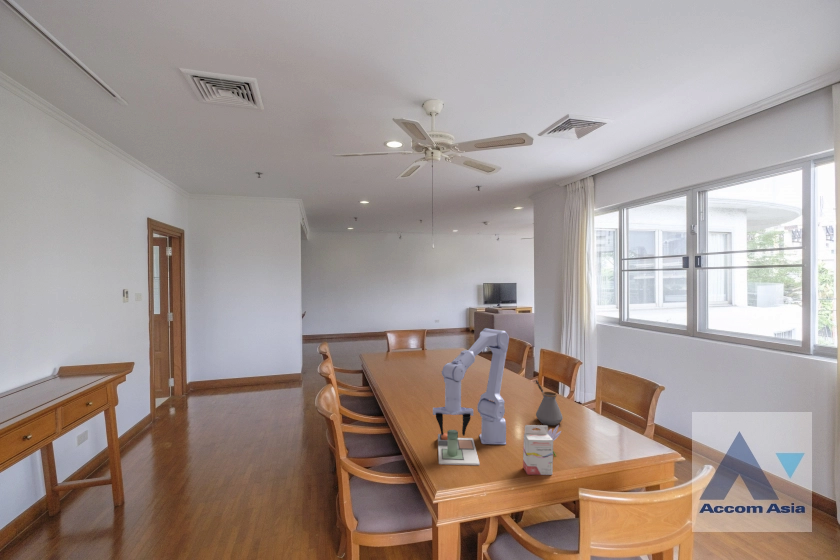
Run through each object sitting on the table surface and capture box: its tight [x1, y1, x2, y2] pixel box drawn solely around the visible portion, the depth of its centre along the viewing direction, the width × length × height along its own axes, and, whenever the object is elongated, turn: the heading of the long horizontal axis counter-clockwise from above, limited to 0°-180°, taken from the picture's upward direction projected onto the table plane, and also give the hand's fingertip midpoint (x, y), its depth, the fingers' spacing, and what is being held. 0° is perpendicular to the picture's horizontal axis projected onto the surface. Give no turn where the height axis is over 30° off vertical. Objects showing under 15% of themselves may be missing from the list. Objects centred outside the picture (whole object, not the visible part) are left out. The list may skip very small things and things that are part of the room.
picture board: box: [437, 433, 481, 466], centre depth 136 cm, size 14×20×2 cm
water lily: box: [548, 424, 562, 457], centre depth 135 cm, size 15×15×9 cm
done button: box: [441, 432, 448, 440], centre depth 142 cm, size 4×4×2 cm
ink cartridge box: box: [522, 424, 554, 476], centre depth 122 cm, size 9×5×15 cm, turn 92°
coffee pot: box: [534, 379, 564, 426], centre depth 170 cm, size 21×12×15 cm, turn 5°
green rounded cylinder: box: [446, 429, 459, 456], centre depth 132 cm, size 4×4×8 cm
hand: (452, 434), depth 132 cm, fingers open, 7 cm apart
